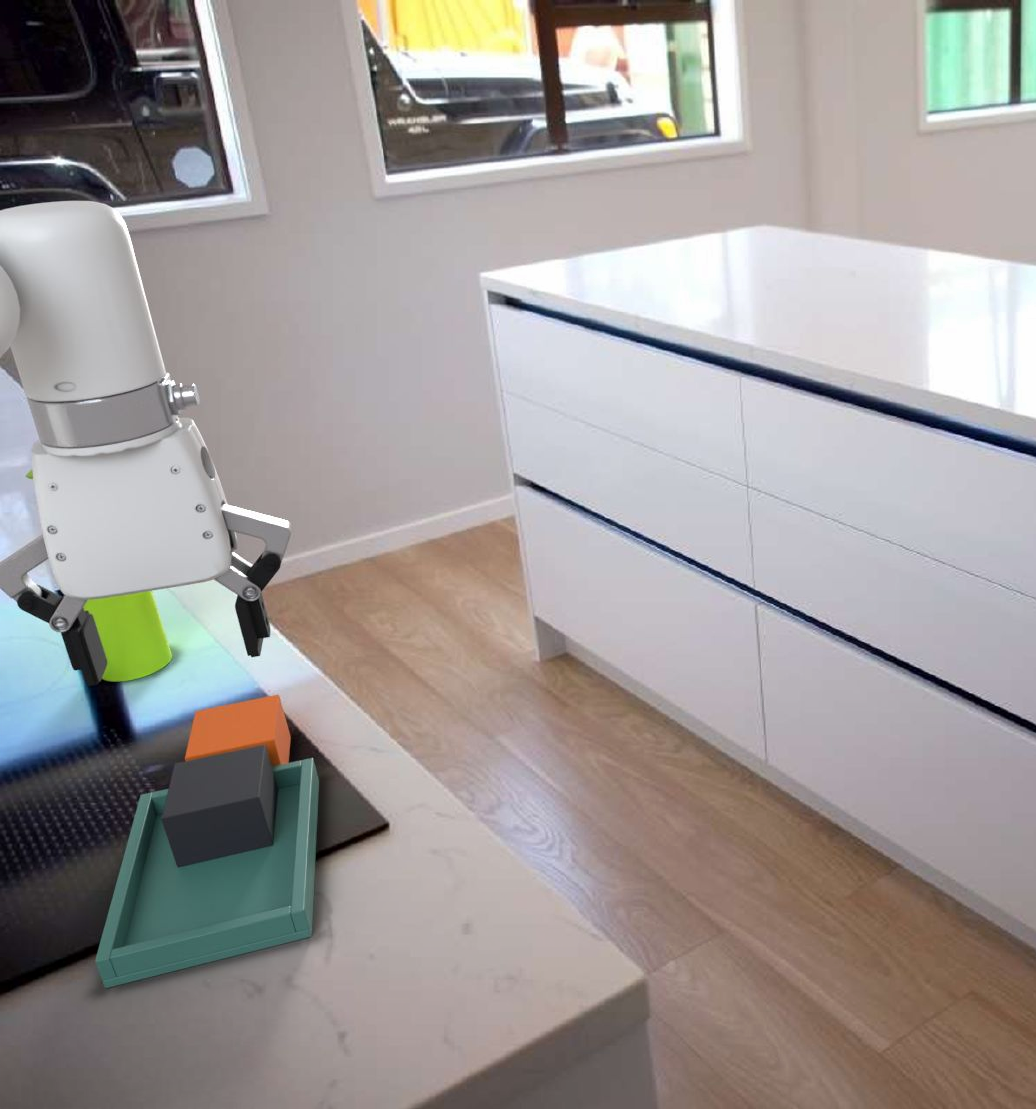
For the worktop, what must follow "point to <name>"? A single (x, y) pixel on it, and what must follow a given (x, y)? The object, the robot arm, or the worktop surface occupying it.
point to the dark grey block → (221, 806)
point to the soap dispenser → (129, 634)
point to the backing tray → (211, 890)
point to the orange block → (241, 730)
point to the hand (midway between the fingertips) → (178, 661)
